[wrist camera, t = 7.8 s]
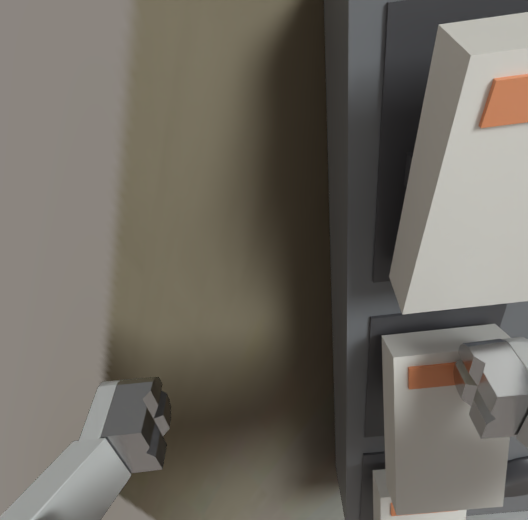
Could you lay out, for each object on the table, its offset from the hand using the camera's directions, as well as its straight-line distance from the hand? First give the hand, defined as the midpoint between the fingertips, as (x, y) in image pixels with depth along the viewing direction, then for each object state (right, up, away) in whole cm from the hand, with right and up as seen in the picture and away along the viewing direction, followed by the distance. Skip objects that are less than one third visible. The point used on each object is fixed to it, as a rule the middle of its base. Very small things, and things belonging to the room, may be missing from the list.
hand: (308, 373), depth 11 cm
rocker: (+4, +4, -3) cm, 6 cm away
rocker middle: (+4, -2, +2) cm, 5 cm away
